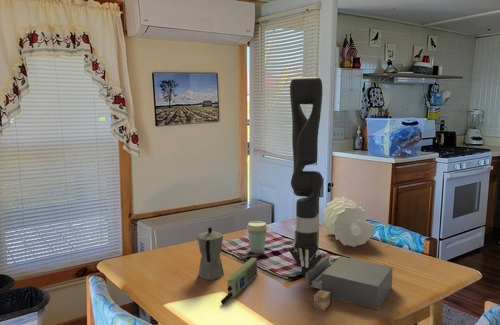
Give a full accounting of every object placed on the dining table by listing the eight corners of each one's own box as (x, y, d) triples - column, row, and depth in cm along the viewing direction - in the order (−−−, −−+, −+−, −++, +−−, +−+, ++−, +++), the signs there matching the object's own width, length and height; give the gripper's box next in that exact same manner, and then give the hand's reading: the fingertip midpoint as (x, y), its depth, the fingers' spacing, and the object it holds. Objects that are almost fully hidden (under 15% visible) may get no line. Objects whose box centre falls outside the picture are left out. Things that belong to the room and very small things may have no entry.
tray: (303, 287, 136) (304, 272, 135) (325, 268, 150) (325, 255, 149) (356, 301, 126) (357, 285, 125) (373, 279, 140) (374, 265, 139)
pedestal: (314, 307, 125) (314, 295, 124) (320, 301, 128) (320, 289, 128) (323, 310, 123) (324, 297, 122) (329, 304, 127) (329, 292, 126)
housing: (321, 295, 133) (321, 273, 132) (340, 276, 147) (341, 256, 146) (376, 309, 123) (377, 286, 122) (391, 288, 137) (392, 266, 136)
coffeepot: (200, 267, 156) (199, 222, 153) (225, 267, 156) (224, 222, 153) (195, 285, 141) (193, 235, 138) (222, 285, 141) (221, 235, 138)
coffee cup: (271, 249, 174) (270, 222, 172) (260, 256, 167) (260, 227, 165) (254, 246, 178) (253, 219, 177) (243, 252, 171) (242, 224, 169)
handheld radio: (259, 275, 149) (227, 306, 126) (250, 274, 150) (218, 305, 128) (258, 258, 148) (226, 286, 125) (250, 257, 149) (217, 285, 127)
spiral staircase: (345, 258, 174) (329, 236, 198) (382, 240, 173) (362, 220, 198) (327, 222, 170) (314, 204, 194) (366, 203, 169) (347, 187, 194)
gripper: (284, 228, 140) (284, 275, 143) (319, 234, 133) (318, 284, 136) (294, 222, 146) (294, 268, 149) (328, 228, 139) (328, 276, 142)
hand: (306, 276), depth 142 cm, fingers closed
